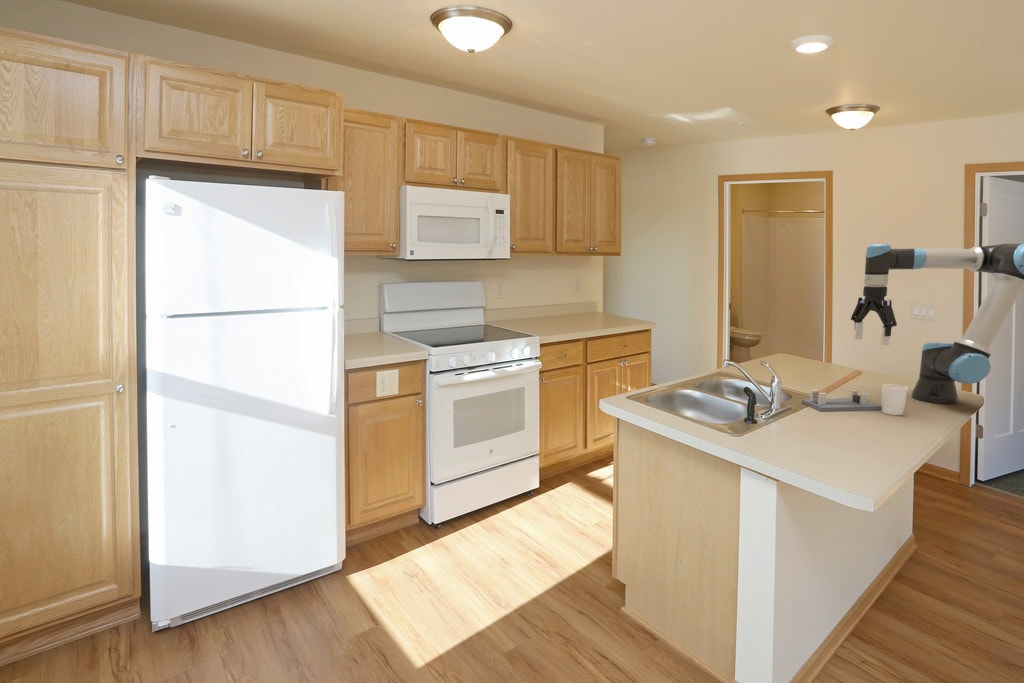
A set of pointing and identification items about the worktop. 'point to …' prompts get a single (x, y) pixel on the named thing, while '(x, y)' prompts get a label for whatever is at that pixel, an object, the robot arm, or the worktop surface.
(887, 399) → the white cup
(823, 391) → the strap
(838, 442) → the worktop surface
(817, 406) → the mount
